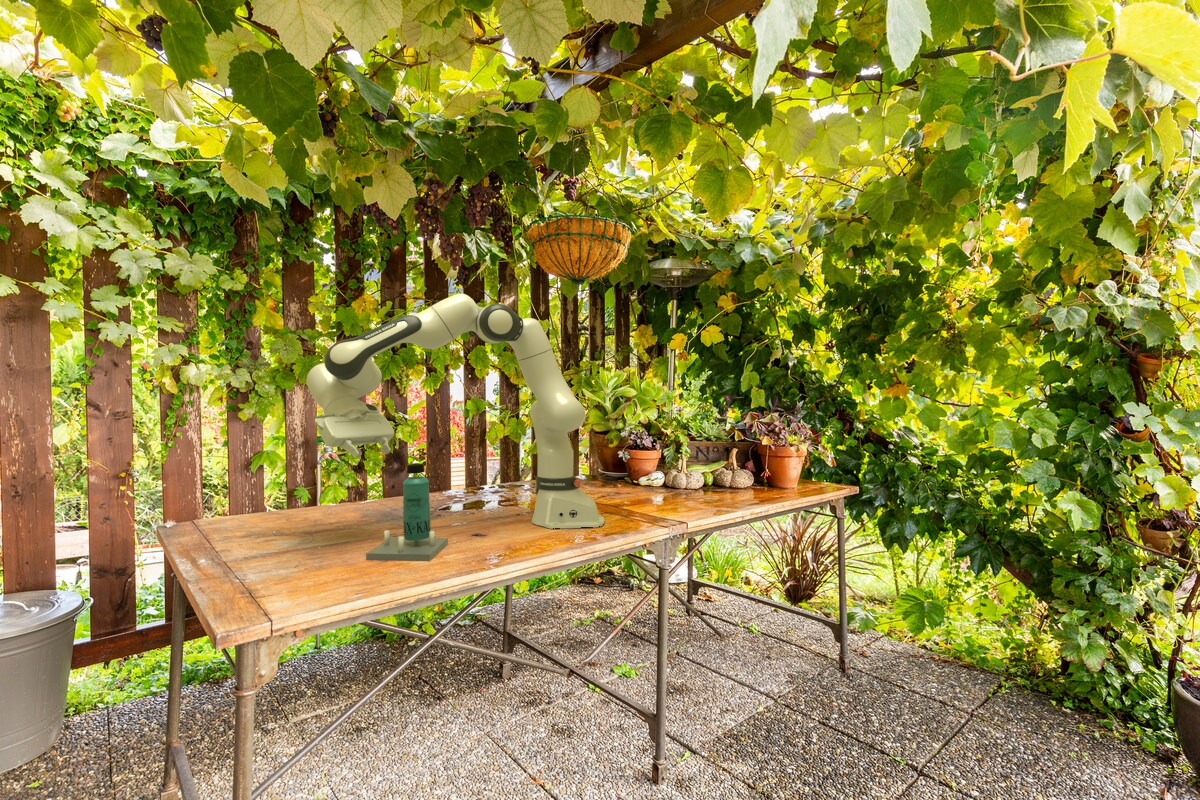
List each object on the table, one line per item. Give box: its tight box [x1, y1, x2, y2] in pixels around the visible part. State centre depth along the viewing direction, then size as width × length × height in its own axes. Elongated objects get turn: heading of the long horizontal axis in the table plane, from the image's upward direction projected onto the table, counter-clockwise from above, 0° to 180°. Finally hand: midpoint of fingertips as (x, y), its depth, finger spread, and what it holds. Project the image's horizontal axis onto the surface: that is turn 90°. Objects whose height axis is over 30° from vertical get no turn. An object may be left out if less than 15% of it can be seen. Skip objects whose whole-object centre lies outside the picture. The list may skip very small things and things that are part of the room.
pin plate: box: [365, 529, 449, 562], centre depth 137 cm, size 15×15×5 cm
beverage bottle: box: [402, 463, 432, 541], centre depth 138 cm, size 6×7×20 cm
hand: (373, 454), depth 142 cm, fingers open, 8 cm apart
